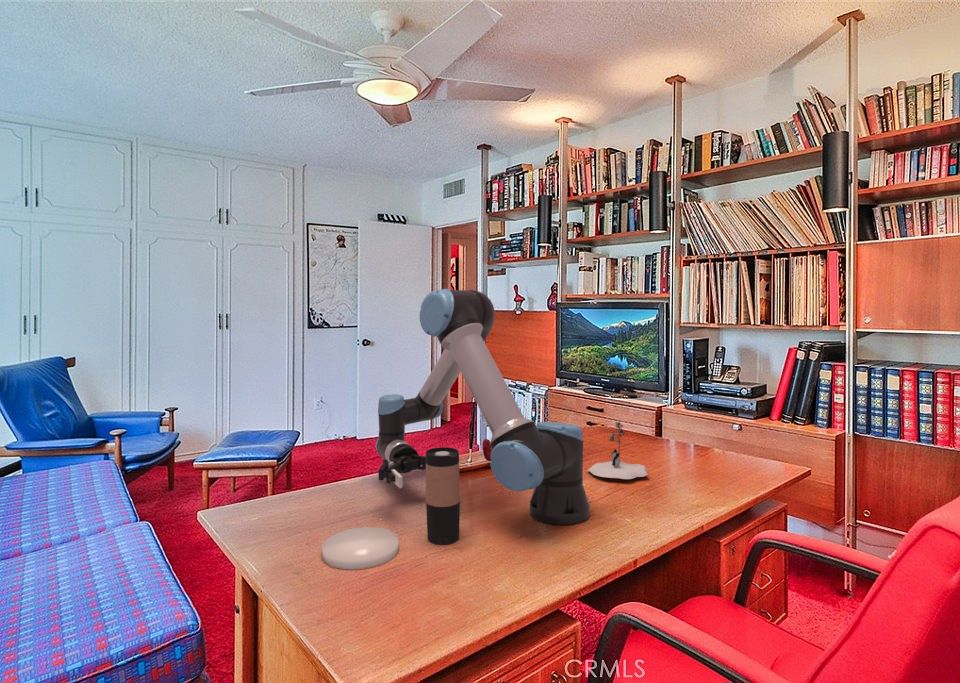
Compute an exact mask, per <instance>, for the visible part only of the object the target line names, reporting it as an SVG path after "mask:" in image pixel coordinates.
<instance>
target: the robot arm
mask: <svg viewBox="0 0 960 683" xmlns="http://www.w3.org/2000/svg"><path fill="white" fill-rule="evenodd" d="M495 313H496V310H495V306H494V304H493V302H492V300H491V299H490V298H489V296H487V295H486V294H485V293H483V292H481V291H478V290H474V289H473V290H471V289H469V290H466V289H463V290H462V289H448V288H442V289H435V290H432V291H430V292H429V293H428V294H427V295H425V297H424V299H423V301H422V302H421V306H420V311H419V322H420V326H421V329H422V330H423V332H424V333H425V334H426V335H429V336H431V337H437V338H436V339H438V342H439V344H440V346H441V348H442V349H444V350H443V351H442V354H441V355H440V356H439V358H438V360H437V362H436V364H435V365H434V366H433V369H432V370H431V372H430V374H429V376H427V378H426V380H425V382H424V383H423V385H422V386H421V388H420V390H419V392H418V393H417V394H416V397H413V398H412V397H411V398H408V399H405V397H404V396H403V395H402V394H395V393H394V394H384V395H382V396H380V397H379V398H378V403H377V404H378V405H377V414H378V415H377V416H378V429H379V430H378V438H377V440H376V442H375V449H376V452H377V454H378V456H380V458H382V459H383V460H382V464H381V466H380V467H379V469H378V472H377V473H378V481H384V480H385V479H386V480H385V481H386V484H391V483H394V485H395V486H396V487H397V488H398V489H403V488H404V487H403V476H402V475H401V474H408V473H410V472H412V471H416V470H420V471H426V455H419V452H418V451H417V450H416V448H414V447H413V446H411V445H410V444H409V443H408V442H406V440H405V437H406V436H405V432H406V431H405V430H406V426H407V425H411V424H416V423H421V422H426V421H431V420H434V419H437V418H439V417H440V416H441V415H442V413H443V409H444V403H443V400H444V399H445V397H446V396H447V394H448V393H449V391H450V390H451V388H452V386H453V385H454V383H455V382H456V380H457V379H458V377H459V376H460V374H462V376H463V379H464V381H465V383H466V384H467V386H468V389H469V390H470V392H471V394H472V396H473V399H474V400H475V403H476V405H477V406H478V408H479V410H480V412H481V414H482V416H483V419H484V420H485V423H486V424H487V426H488V428H489V430H490V432H491V439H490V440H489V441H490V445H491V447H492V449H493V450H492V452H491V456H490V458H491V459H492V460H491V461H489V464H490V465H491V466H490V469H491V472H492V474H493V476H494V478H495V479H496V480H497V482H499V484H501V486H502V487H504V488H506V489H508V490H511V491H513V492H524V491H527V490H533V492H532V494H531V497H530V501H529V509H528V510H529V515H530V517H532V518H533V519H535V520H536V521H539V522H541V523H542V522H543V523H545V524H550V525H561V526H562V525H564V526H565V525H568V526H569V525H576V524H579V523H583V522H585V521H587V520H588V519H589V518H590V517H591V516H590V515H591V511H590V510H591V506H590V502H589V499H588V497H587V494H586V489H585V486H584V483H583V482H584V474H583V473H584V442H585V441H584V436H583V433H584V432H583V429H582V428H581V426H579V425H577V424H572V423H567V422H560V421H539V422H537V423H535V422H534V420H532V419H529V418H527V417H525V416H524V415H523V412H522V410H521V409H520V406H519V405H518V403H517V401H516V399H515V398H514V396H513V393H512V392H511V390H510V388H509V386H508V384H507V382H506V380H505V378H504V376H503V375H502V372H501V371H500V369H499V367H498V366H497V364H496V361H495V360H494V357H493V356H492V354H491V352H490V350H489V349H488V346H487V345H486V342H485V341H486V340H487V339H488V336H490V333H491V332H492V329H493V326H494V324H495V318H496V314H495Z"/></svg>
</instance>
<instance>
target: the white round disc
mask: <svg viewBox="0 0 960 683" xmlns="http://www.w3.org/2000/svg"><path fill="white" fill-rule="evenodd" d="M399 549H400V548H399V537H398V535H397V534H396V533H395V532H394V531H392V530H390V529H387V528H382V527H378V526H377V527H376V526H375V527H374V526H364V527H353V528H349V529H345V530H343V531H339V532H337V533H334V534H333V535H331V536H329V537H328V538H326V539H325V540H324V542H323V544H322V547H321V553H322V554H321V555H322V557H321V558H322V560H323V562H324V563H325V564H326V565H328V566H330V567H332V568H335V569H339V570H348V571H349V570H351V571H353V570H355V571H357V570H364V569H370V568H374V567H378V566H381V565H383V564H385V563H387V562H389V561H391V560H393V558H394V557H395V556H396V555H397V554H398V553H399Z"/></svg>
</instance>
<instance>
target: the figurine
mask: <svg viewBox="0 0 960 683" xmlns="http://www.w3.org/2000/svg"><path fill="white" fill-rule="evenodd" d="M614 423H615V426H614V427H615V429H618V434H616V432H615V431H612V432H611V434H609V435H608V436H609V438H608V440H609V442H616V443H618V450H617V449H616V448H615V449H613V451H612V452H611V454H610V455H609V456H608V457H609V458H611V459H610V461H606V462H605V461H604V462H596V463H595V464H593V465H592V466H591V467H589V468H588V469H587V472H590V473H591V474H592V475H593V476H597V477H601V478H610V479H621V480H632V479H635V478H644V477H646V476H649V471H648V468H647V467H646V466H645V465H643V464H639V463H634V464H632V463H628V462H625V461H622V460H621V456H620V455H621V453H620V451H621V450H620V447H621V445H632V442H631V441H628V443H627V442H621V437H624V436H626V433H627V431H626V430H625V431H624V430H623V428H624V425H623V424H621V422H620V421H615V422H614ZM615 437H618V440H615ZM610 456H611V457H610Z"/></svg>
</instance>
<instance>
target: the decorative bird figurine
mask: <svg viewBox="0 0 960 683" xmlns="http://www.w3.org/2000/svg"><path fill="white" fill-rule="evenodd" d="M490 441H491V440H490V439H488V438H484V440H483V441H482V452H483V456H484V459H485V460H486V461H488V462H491V460H492V459H491V458H490V456H491V452H492V450H493V449H492V447H491V445H490ZM488 467H491V465H490V463H489V464H488Z"/></svg>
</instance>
